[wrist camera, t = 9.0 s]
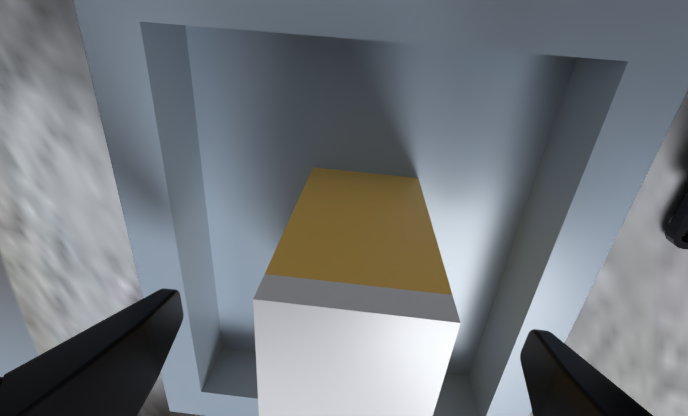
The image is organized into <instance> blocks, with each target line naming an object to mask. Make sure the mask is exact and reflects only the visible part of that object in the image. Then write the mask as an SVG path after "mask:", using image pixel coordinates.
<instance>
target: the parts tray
mask: <svg viewBox="0 0 688 416" xmlns="http://www.w3.org/2000/svg"><path fill="white" fill-rule="evenodd" d="M73 2H74V6H75V10H76V15H77V19H78V23H79V27H80V32H81V36H82V40H83V44H84V49H85V53H86V57H87V61H88V66H89V70H90V74H91V78H92V83H93V87H94V91H95V95H96V100H97V104H98V108H99V113H100V117H101V121H102V125H103V130H104V134H105V138H106V142H107V147H108V151H109V155H110V159H111V164H112V168H113V172H114V176H115V181H116V185H117V189H118V193H119V198H120V202H121V206H122V210H123V215H124V219H125V223H126V227H127V232H128V236H129V240H130V244H131V249H132V253H133V257H134V261H135V266H136V270H137V274H138V278H139V283H140V287H141V291H142V295H143V298H145V297H147V296H149V295H150V294H152V293H154V292H156V291H158V290H160V289H162V288H167V289H176V290H178V291H179V292H180V296H181V302H182V307H183V314H184V315H183V321H182V324H181V326H180V329H179V331H178V333H177V335H176V338H175V340H174V342H173V345H172V347H171V349H170V352H169V354H168V356H167V358H166V361H165V363H164V365H163V368H162V370H161V376H162V380H163V385H164V389H165V393H166V398H167V402H168V406H169V410H170V411H171V412H179V413H187V414H195V415H203V416H259V409H258V389H257V369H256V349H255V329H254V309H253V298H254V296H255V294H256V292H257V289H258V287H259V285H260V283H261V281H262V278H263V276H264V274H265V272H266V270H267V267H268V265H269V263H270V261H271V259H272V256H273V254H274V252H275V250H276V248H277V245H278V243H279V241H280V239H281V237H282V234H283V232H284V230H285V228H286V226H287V223H288V221H289V219H290V217H291V215H292V212H293V210H294V208H295V206H296V204H297V201H298V199H299V197H300V195H301V193H302V190H303V188H304V186H305V184H306V182H307V179H308V177H309V175H310V173H311V171H312V168H313V167H314V168H324V169H334V170H344V171H354V172H364V173H373V174H383V175H393V176H403V177H413V178H419V182H420V185H421V189H422V192H423V195H424V199H425V202H426V206H427V209H428V213H429V216H430V219H431V223H432V226H433V230H434V233H435V236H436V240H437V243H438V247H439V250H440V254H441V257H442V260H443V264H444V267H445V271H446V274H447V278H448V281H449V284H450V288H451V291H452V295H453V298H454V302H455V305H456V308H457V312H458V315H459V319H460V322H461V324H460V327H459V330H458V334H457V337H456V340H455V344H454V347H453V350H452V354H451V357H450V360H449V364H448V367H447V370H446V374H445V377H444V380H443V384H442V387H441V390H440V393H439V397H438V400H437V403H436V407H435V410H434V413H433V416H529V415H530V413H531V411H532V408H531V404H530V399H529V395H528V391H527V387H526V382H525V378H524V374H523V370H522V365H521V361H520V354H521V350H522V348H523V345H524V343H525V340H526V338H527V336H528V333H529V332H530V331H531V330H533V329H537V330H546V331H549V332H551V333H552V334H554V335H555V336H556V337H557V338H559V339H560V340H561V341H562V342H563V343H565V341H566V339H567V337H568V335H569V333H570V331H571V329H572V327H573V325H574V322H575V320H576V318H577V316H578V314H579V312H580V310H581V308H582V306H583V304H584V302H585V300H586V298H587V296H588V294H589V292H590V290H591V288H592V286H593V284H594V281H595V279H596V277H597V275H598V273H599V271H600V269H601V267H602V265H603V263H604V261H605V259H606V257H607V255H608V253H609V251H610V249H611V247H612V245H613V242H614V240H615V238H616V236H617V234H618V232H619V230H620V228H621V226H622V224H623V222H624V220H625V218H626V216H627V214H628V212H629V210H630V208H631V206H632V204H633V201H634V199H635V197H636V195H637V193H638V191H639V189H640V187H641V185H642V183H643V181H644V179H645V177H646V175H647V173H648V171H649V169H650V167H651V165H652V163H653V160H654V158H655V156H656V154H657V152H658V150H659V148H660V146H661V144H662V142H663V140H664V138H665V136H666V134H667V132H668V130H669V128H670V126H671V124H672V122H673V119H674V117H675V115H676V113H677V111H678V109H679V107H680V105H681V103H682V101H683V99H684V97H685V95H686V93H687V91H688V0H73Z"/></svg>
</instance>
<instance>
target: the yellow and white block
mask: <svg viewBox="0 0 688 416" xmlns="http://www.w3.org/2000/svg"><path fill="white" fill-rule="evenodd" d="M253 309H254V329H255V349H256V369H257V389H258V409H259V416H433V413H434V410H435V407H436V403H437V400H438V397H439V393H440V390H441V387H442V384H443V380H444V377H445V374H446V370H447V367H448V364H449V360H450V357H451V354H452V350H453V347H454V344H455V340H456V337H457V334H458V330H459V327H460V324H461V322H460V319H459V315H458V312H457V308H456V305H455V302H454V298H453V295H452V291H451V288H450V284H449V281H448V278H447V274H446V271H445V267H444V264H443V260H442V257H441V254H440V250H439V247H438V243H437V240H436V236H435V233H434V230H433V226H432V223H431V219H430V216H429V213H428V209H427V206H426V202H425V199H424V195H423V192H422V189H421V185H420V182H419V178H413V177H403V176H393V175H383V174H373V173H364V172H354V171H344V170H334V169H324V168H314V167H313V168H312V171H311V173H310V175H309V177H308V179H307V182H306V184H305V186H304V188H303V190H302V193H301V195H300V197H299V199H298V201H297V204H296V206H295V208H294V210H293V212H292V215H291V217H290V219H289V221H288V223H287V226H286V228H285V230H284V232H283V234H282V237H281V239H280V241H279V243H278V245H277V248H276V250H275V252H274V254H273V256H272V259H271V261H270V263H269V265H268V267H267V270H266V272H265V274H264V276H263V278H262V281H261V283H260V285H259V287H258V289H257V292H256V294H255V296H254V298H253Z"/></svg>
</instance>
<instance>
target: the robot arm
mask: <svg viewBox="0 0 688 416" xmlns="http://www.w3.org/2000/svg"><path fill="white" fill-rule="evenodd" d="M687 231H688V191H687V193H686V195H685V197H684V199H683V200H682V202H681V204H680V206H679V208H678V209H677V211H676V213H675V215H674V217H673V218H672V220H671V222H670V224H669V226H668V227H667V229H666V232H665V236H666V239H668V240H669V241H670V242H671V243H673V244H674V245H675V246H677V247H679V248H682V249H688V233H687V234H686V235H684V236H683V234H684V233H685V232H687ZM183 315H184V314H183V307H182V302H181V296H180V292H179V291H178V290H176V289H167V288H162V289H160V290H158V291H156V292H154V293H152V294H150V295H149V296H147V297H145V298H143V299H141V300H140V301H138V302H136V303H134V304H132V305H130V306H129V307H127V308H125V309H123V310H121V311H119V312H118V313H116V314H114V315H112V316H110V317H109V318H107V319H105V320H103V321H101V322H99V323H98V324H96V325H94V326H92V327H90V328H89V329H87V330H85V331H83V332H81V333H79V334H78V335H76V336H74V337H72V338H70V339H68V340H67V341H65V342H63V343H61V344H59V345H58V346H56V347H54V348H52V349H50V350H48V351H47V352H45V353H43V354H41V355H39V356H37V357H36V358H34V359H32V360H30V361H29V362H27V363H25V364H23V365H21V366H20V367H17V368H16V369H14V370H12V371H10V372H8V373H6V374H5V375H4V377H0V416H137V414H138V413H139V411H140V409H141V407H142V406H143V404H144V402H145V400H146V398H147V397H148V395H149V393H150V391H151V390H152V388H153V386H154V384H155V382H156V380H157V378H158V376H159V374H160V372H161V370H162V368H163V365H164V363H165V361H166V358H167V356H168V354H169V352H170V349H171V347H172V345H173V342H174V340H175V338H176V335H177V333H178V331H179V329H180V326H181V324H182V321H183ZM520 361H521V365H522V370H523V374H524V378H525V382H526V387H527V391H528V395H529V399H530V404H531V408H532V412H533V416H653V415H652V414H650V413H649V412H648V411H647V410H646V409H644V408H643V407H642V406H641V405H639V404H638V403H637V402H636V401H634V400H633V399H632V398H631V397H630V396H628V395H627V394H626V393H625V392H623V391H622V390H621V389H620V388H619V387H617V386H616V385H615V384H614V383H612V382H611V381H610V380H609V379H608V378H606V377H605V376H604V375H603V374H601V373H600V372H599V371H598V370H597V369H595V368H594V367H593V366H592V365H590V364H589V363H588V362H587V361H585V360H584V359H583V358H582V357H581V356H579V355H578V354H577V353H576V352H574V351H573V350H572V349H571V348H570V347H568V346H567V345H566V344H565V343H563V342H562V341H561V340H560V339H559V338H557V337H556V336H555V335H554V334H552V333H551V332H549V331H546V330H537V329H533V330H531V331H530V332H529V333H528V336H527V338H526V340H525V343H524V345H523V348H522V350H521V354H520Z"/></svg>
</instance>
